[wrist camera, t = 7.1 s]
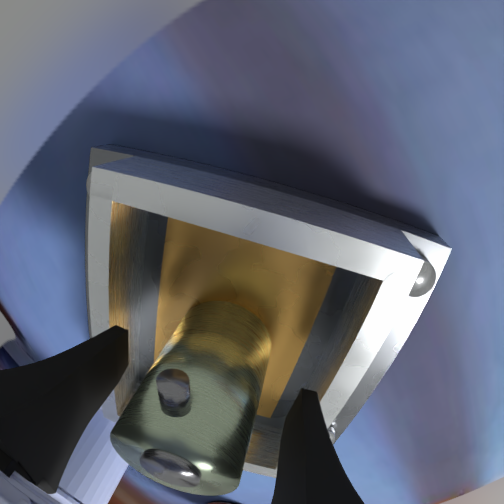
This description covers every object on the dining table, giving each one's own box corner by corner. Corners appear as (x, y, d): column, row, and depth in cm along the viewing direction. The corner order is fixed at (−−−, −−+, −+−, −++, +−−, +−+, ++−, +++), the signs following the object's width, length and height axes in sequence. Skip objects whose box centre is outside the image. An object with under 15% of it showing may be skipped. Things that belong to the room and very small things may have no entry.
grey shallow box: (104, 356, 19) (69, 398, 15) (109, 144, 14) (44, 156, 10) (330, 430, 18) (328, 486, 14) (439, 236, 12) (482, 281, 8)
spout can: (182, 364, 16) (122, 477, 9) (178, 270, 14) (80, 387, 7) (266, 381, 15) (234, 511, 8) (280, 287, 13) (244, 438, 6)
